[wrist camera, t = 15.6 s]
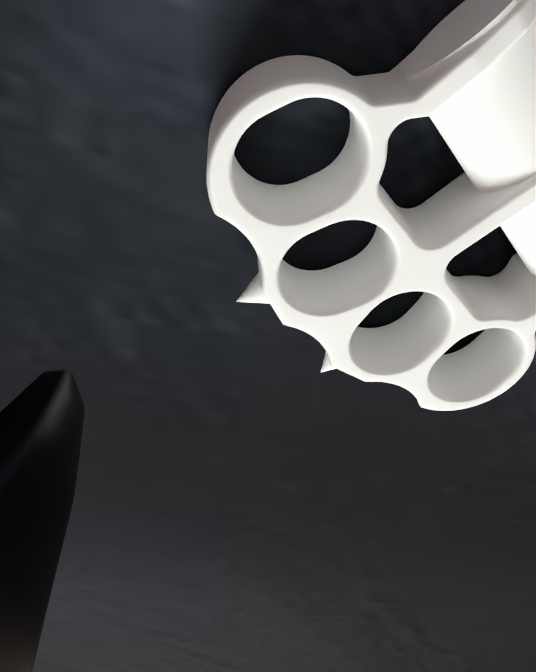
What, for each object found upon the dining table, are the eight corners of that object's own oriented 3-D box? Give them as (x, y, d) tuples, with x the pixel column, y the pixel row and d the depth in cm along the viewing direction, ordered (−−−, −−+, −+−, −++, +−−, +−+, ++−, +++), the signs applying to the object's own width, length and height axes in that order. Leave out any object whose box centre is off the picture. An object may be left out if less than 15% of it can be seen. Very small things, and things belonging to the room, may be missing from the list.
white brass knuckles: (642, 251, 24) (379, 405, 29) (463, -152, 14) (128, 187, 20) (693, 293, 21) (394, 452, 27) (515, -164, 12) (115, 228, 17)
